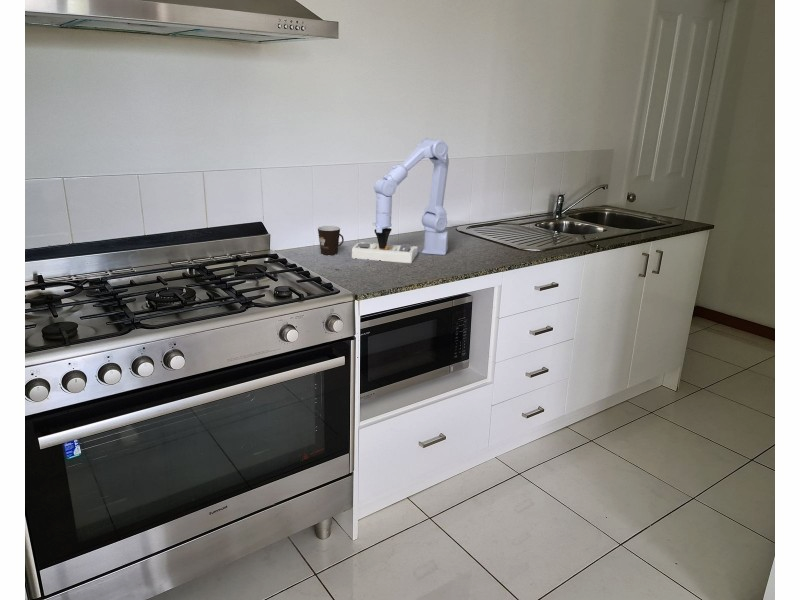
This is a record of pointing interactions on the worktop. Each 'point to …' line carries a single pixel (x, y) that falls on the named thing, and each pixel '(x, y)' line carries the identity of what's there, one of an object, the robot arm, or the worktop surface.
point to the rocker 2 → (404, 247)
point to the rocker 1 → (363, 245)
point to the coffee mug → (329, 239)
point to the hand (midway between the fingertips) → (382, 247)
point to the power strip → (384, 253)
